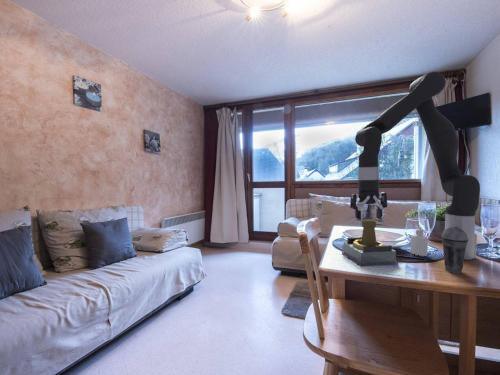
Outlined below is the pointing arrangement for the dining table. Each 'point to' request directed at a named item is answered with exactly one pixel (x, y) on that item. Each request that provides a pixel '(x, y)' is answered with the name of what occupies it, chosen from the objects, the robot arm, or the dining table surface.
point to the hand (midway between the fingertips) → (368, 218)
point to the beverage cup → (454, 248)
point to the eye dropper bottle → (419, 243)
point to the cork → (368, 233)
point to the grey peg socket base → (369, 253)
